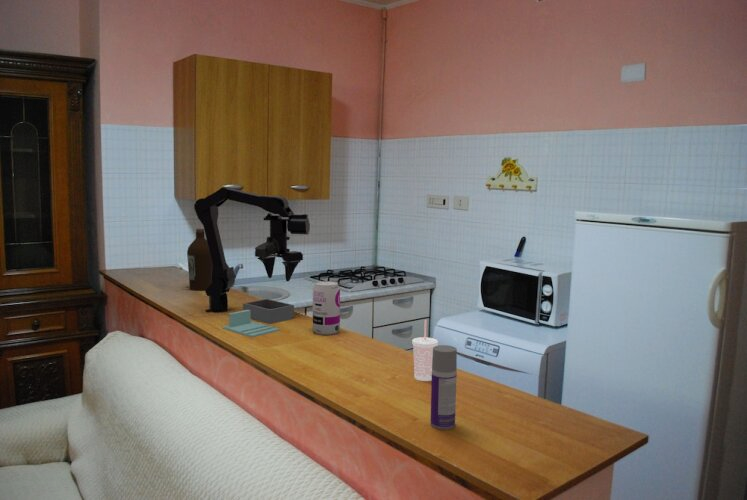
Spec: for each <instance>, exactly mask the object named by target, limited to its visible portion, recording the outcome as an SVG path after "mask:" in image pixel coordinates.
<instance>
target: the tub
mask: <svg viewBox="0 0 747 500" xmlns="http://www.w3.org/2000/svg"><path fill="white" fill-rule="evenodd" d="M244 310H251V320H255V321H259V322H262V323H264V324H268V325H270V324H271V325H272V324H276V323H279V322H280V323H281V322H285V321H288V320H293V319H295V305H294V304H291V303H288V302H287V303H286V302H282V301H278V300H273V299H268V298H264V299H260V300H253V301H248V302H244V303H242V311H244Z"/></svg>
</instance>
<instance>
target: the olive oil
mask: <svg viewBox="0 0 747 500" xmlns="http://www.w3.org/2000/svg"><path fill="white" fill-rule="evenodd" d="M186 253H187V254H186V256H187V268H188V283H189V284H188V285H189V290H191V291H197V292H198V291H200V292H202V291H204V292H205V290H206V289H207V288H208V287H209V286H210V285H211V284H212V279H211V274H212V267H213V265H212V261H211V257H210V252H209V248H208V244H207V239H206V237H205V231H204V228H196V229H195V239H194V240H193V241H192V242H191V243H190V244H189V246H188V247H187V251H186Z"/></svg>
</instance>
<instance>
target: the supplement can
mask: <svg viewBox="0 0 747 500" xmlns="http://www.w3.org/2000/svg"><path fill="white" fill-rule="evenodd" d="M340 330H341V288H340V285H339V282H338V281H337V282H336V281H330V280H329V281H326V280H324V281H323V280H320V281H316V282H314V285H313V286H312V331H313V332H314V333H315V334H317V335H325V336H328V335H329V336H330V335H335V334H337V333H338V332H339V331H340Z"/></svg>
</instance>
